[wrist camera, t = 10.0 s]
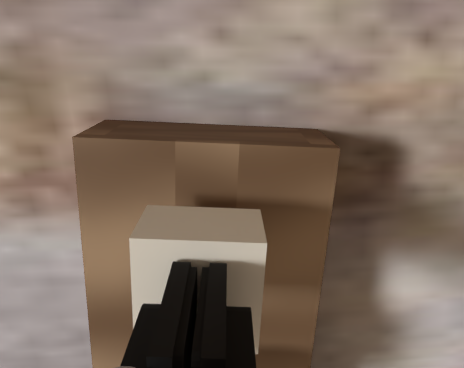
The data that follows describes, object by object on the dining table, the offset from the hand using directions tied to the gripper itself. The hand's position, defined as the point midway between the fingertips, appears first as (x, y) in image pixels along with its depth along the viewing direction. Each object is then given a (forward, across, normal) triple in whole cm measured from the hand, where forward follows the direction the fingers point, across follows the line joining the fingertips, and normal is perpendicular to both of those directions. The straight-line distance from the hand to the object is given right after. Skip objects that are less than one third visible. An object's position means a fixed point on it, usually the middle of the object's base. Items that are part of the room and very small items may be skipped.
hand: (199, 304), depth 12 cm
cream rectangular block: (+7, 0, 0) cm, 7 cm away
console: (+8, 0, +10) cm, 13 cm away
